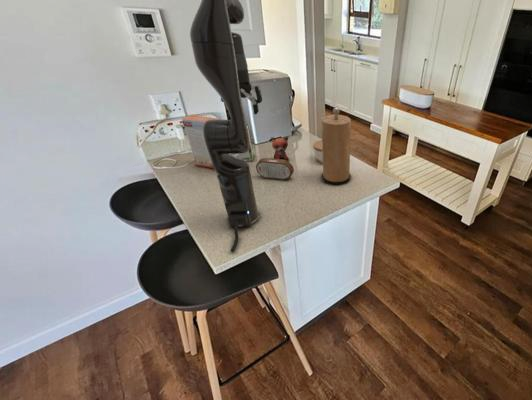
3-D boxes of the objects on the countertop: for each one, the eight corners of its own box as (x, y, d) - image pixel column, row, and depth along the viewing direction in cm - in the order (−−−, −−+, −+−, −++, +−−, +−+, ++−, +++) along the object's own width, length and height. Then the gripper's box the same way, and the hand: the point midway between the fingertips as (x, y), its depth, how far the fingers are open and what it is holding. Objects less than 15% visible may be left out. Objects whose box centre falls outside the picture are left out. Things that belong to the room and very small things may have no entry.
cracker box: (232, 165, 123) (221, 118, 111) (223, 171, 118) (211, 123, 106) (205, 159, 126) (192, 113, 114) (195, 165, 121) (180, 118, 109)
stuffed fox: (287, 153, 135) (285, 129, 128) (292, 163, 127) (289, 138, 120) (271, 155, 133) (268, 131, 126) (275, 166, 124) (271, 140, 117)
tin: (294, 177, 117) (293, 159, 112) (292, 181, 114) (290, 163, 109) (259, 174, 117) (256, 156, 113) (256, 178, 115) (253, 159, 110)
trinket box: (322, 167, 125) (321, 147, 120) (309, 158, 132) (308, 139, 127) (341, 161, 131) (341, 142, 126) (327, 153, 138) (327, 134, 133)
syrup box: (239, 161, 126) (232, 130, 118) (240, 156, 131) (234, 126, 122) (253, 160, 127) (247, 130, 119) (253, 155, 132) (248, 125, 124)
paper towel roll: (351, 185, 114) (353, 112, 97) (321, 185, 113) (319, 112, 96) (349, 171, 124) (351, 103, 107) (322, 171, 123) (320, 102, 106)
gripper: (211, 68, 94) (221, 116, 103) (254, 69, 95) (261, 117, 104) (218, 65, 100) (228, 110, 109) (259, 66, 102) (265, 111, 111)
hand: (244, 113), depth 107 cm, fingers open, 8 cm apart
